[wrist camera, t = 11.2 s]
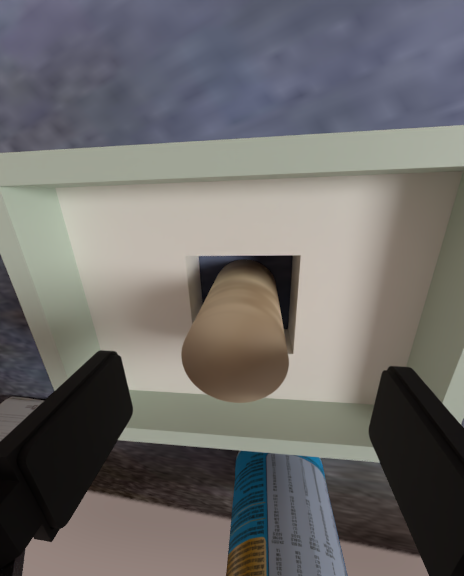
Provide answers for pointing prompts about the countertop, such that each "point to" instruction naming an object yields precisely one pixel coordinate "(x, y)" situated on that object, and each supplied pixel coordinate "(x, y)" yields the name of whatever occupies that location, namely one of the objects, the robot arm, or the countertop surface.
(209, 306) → the peg
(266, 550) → the beverage bottle
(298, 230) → the tray
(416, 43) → the countertop surface
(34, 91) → the countertop surface
